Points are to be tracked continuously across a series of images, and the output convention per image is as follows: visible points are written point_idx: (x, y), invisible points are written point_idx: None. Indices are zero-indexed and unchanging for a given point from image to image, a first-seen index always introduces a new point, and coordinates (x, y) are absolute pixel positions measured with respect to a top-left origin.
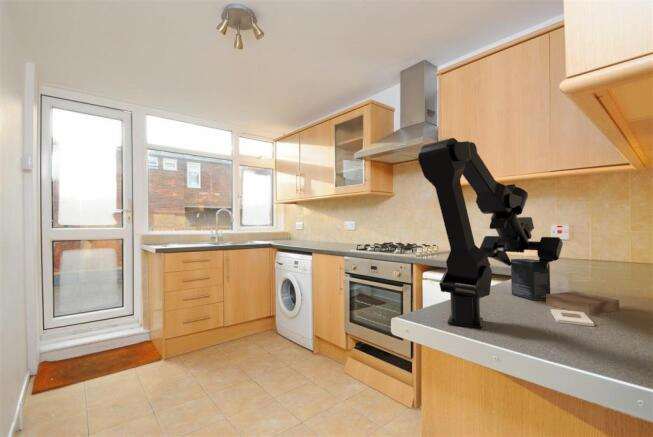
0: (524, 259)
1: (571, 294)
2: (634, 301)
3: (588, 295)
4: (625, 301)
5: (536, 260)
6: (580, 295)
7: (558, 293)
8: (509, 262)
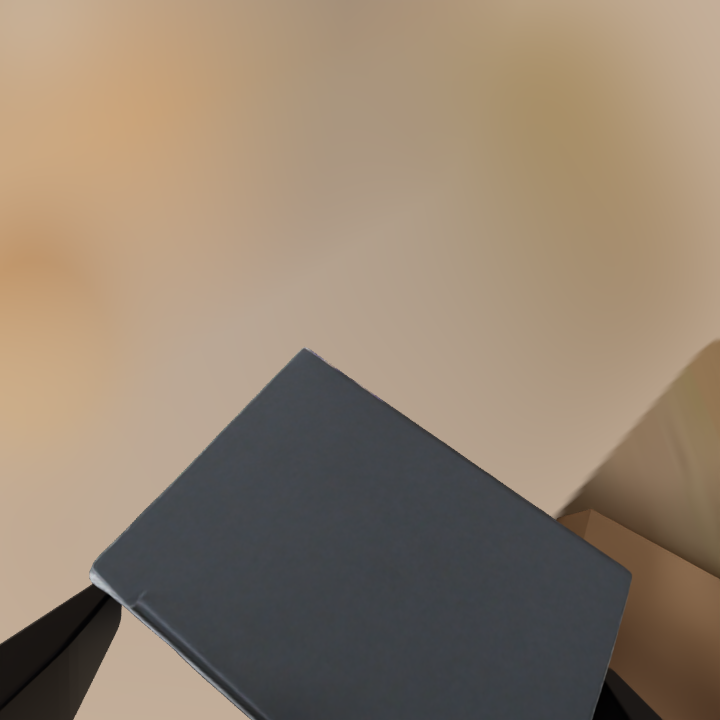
0: (312, 610)
1: (629, 667)
2: (717, 352)
3: (703, 618)
4: (699, 374)
5: (501, 659)
6: (678, 664)
7: None
8: (82, 662)
